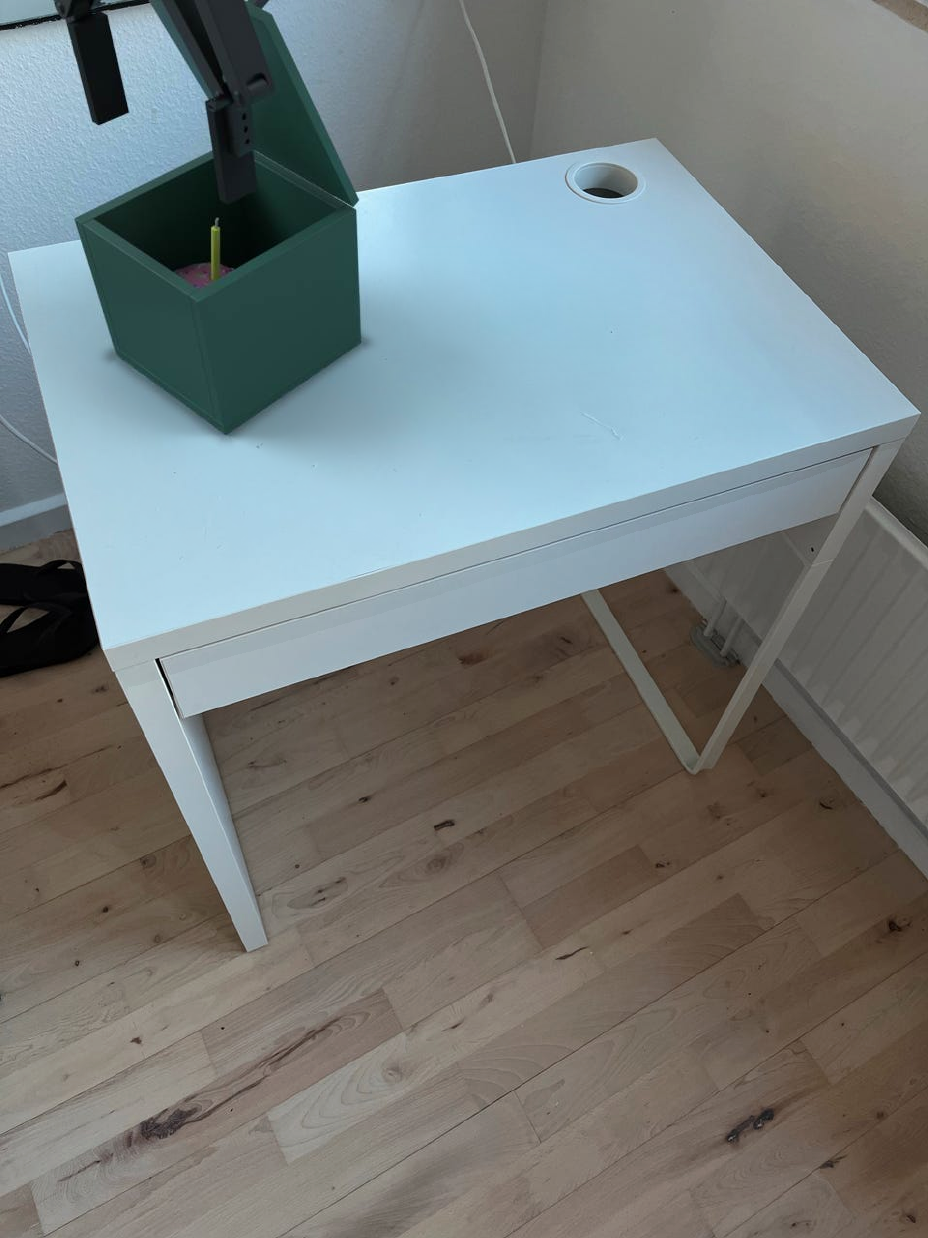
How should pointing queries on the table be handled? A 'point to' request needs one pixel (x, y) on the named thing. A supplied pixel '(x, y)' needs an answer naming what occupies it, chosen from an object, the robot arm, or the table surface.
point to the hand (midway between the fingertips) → (172, 154)
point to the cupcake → (206, 265)
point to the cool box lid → (282, 110)
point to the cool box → (226, 285)
